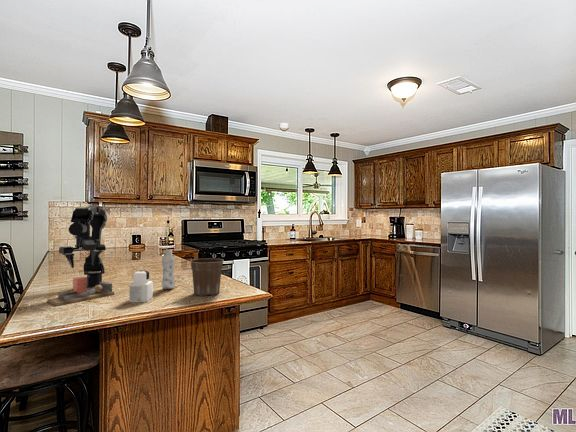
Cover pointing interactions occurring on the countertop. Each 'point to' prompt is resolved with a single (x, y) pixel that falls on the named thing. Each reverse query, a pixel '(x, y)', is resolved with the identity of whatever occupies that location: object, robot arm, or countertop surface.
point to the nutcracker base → (83, 295)
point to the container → (141, 287)
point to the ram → (81, 286)
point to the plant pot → (206, 276)
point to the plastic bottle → (168, 270)
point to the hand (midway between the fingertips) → (83, 266)
